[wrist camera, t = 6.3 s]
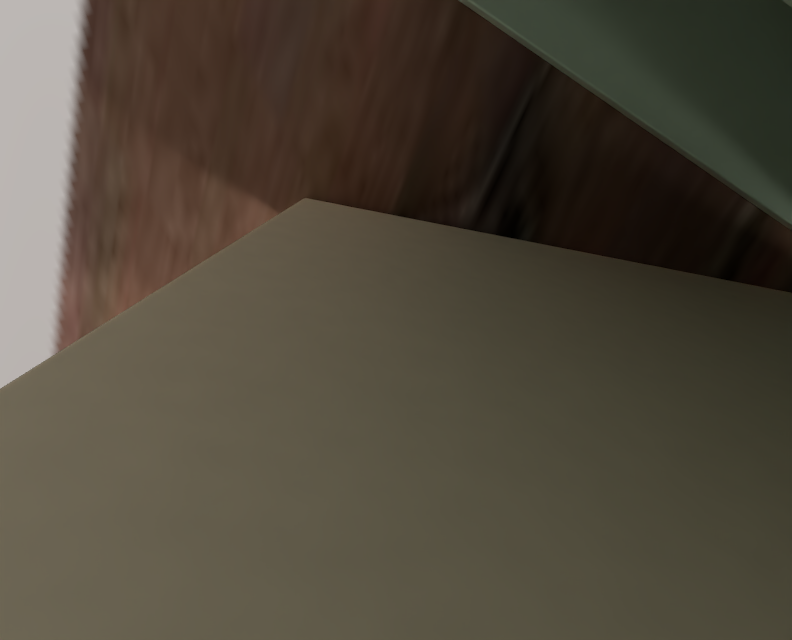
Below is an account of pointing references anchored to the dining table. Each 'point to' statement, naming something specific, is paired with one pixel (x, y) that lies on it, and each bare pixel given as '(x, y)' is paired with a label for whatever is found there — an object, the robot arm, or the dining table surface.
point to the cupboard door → (406, 449)
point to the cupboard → (680, 77)
